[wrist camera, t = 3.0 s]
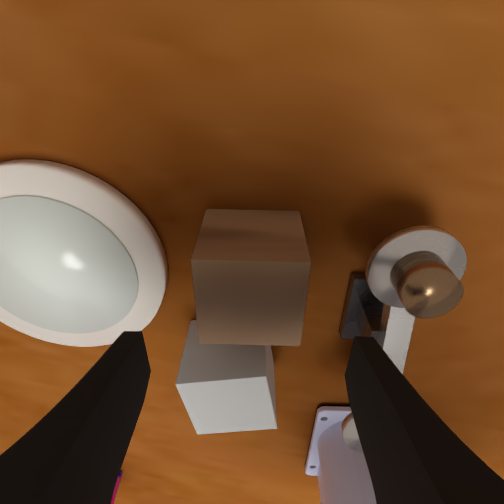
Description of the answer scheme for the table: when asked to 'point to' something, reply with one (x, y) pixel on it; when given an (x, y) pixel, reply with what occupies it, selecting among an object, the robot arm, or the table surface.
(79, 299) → the dish
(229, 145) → the table surface
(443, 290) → the balance
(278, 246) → the walnut block
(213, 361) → the grey block
